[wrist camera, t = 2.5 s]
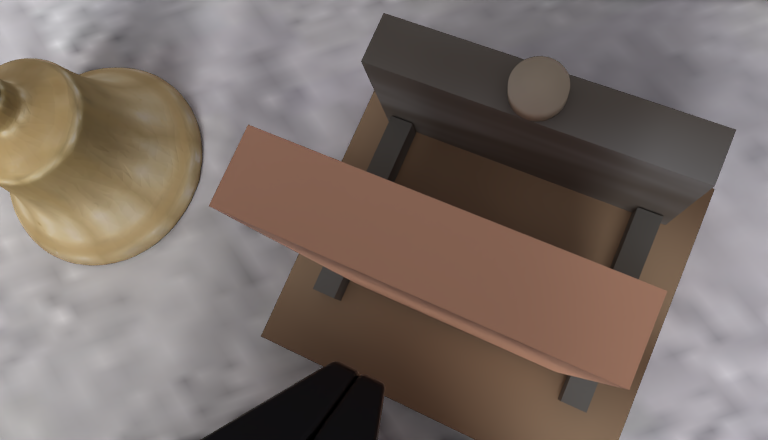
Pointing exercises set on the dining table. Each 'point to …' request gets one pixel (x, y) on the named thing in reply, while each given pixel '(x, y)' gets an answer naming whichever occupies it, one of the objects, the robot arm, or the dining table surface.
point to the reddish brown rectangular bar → (443, 260)
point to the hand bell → (95, 158)
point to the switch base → (506, 222)
